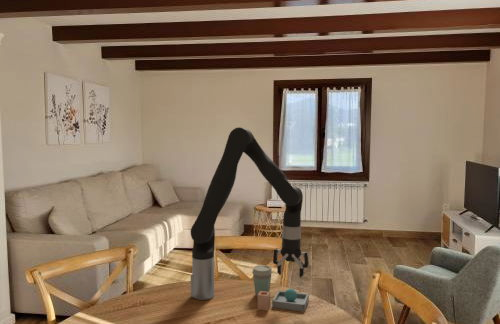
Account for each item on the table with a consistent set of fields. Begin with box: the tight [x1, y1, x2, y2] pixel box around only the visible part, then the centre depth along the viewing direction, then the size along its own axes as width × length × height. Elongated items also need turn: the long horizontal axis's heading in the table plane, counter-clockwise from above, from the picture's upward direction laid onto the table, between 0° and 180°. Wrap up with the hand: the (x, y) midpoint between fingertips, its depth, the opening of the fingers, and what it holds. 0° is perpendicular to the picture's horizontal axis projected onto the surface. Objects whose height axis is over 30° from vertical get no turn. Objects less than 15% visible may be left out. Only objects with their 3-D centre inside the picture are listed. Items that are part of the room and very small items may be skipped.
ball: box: [285, 288, 298, 301], centre depth 165 cm, size 5×5×5 cm
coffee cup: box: [252, 264, 273, 298], centre depth 174 cm, size 8×8×12 cm
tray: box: [271, 290, 310, 312], centre depth 165 cm, size 13×11×3 cm
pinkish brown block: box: [257, 291, 271, 312], centre depth 161 cm, size 4×4×6 cm
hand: (290, 275), depth 164 cm, fingers open, 8 cm apart
